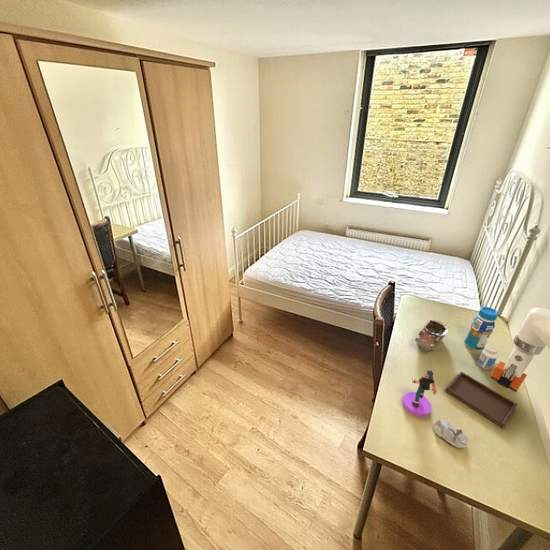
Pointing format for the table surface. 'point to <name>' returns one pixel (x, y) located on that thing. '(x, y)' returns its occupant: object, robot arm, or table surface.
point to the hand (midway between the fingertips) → (505, 381)
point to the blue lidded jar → (481, 329)
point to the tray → (481, 399)
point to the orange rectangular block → (500, 370)
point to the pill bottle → (488, 357)
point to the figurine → (420, 396)
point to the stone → (450, 433)
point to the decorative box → (431, 335)
